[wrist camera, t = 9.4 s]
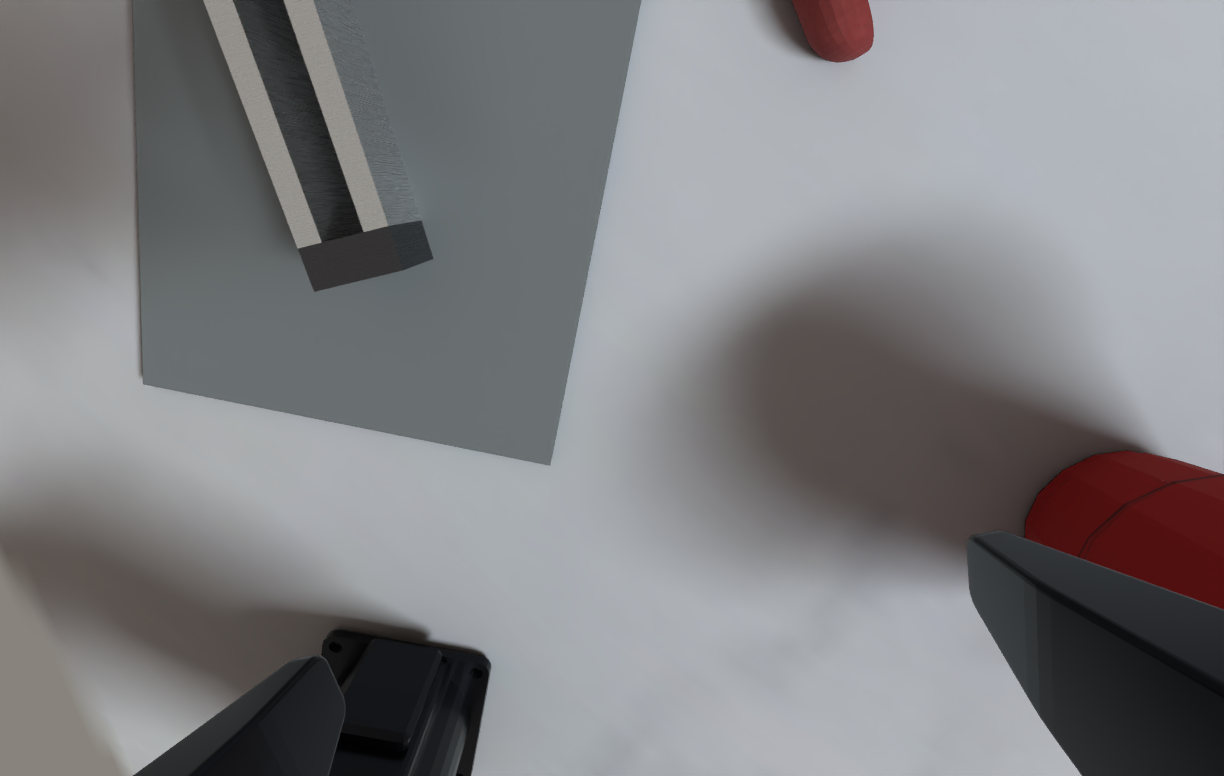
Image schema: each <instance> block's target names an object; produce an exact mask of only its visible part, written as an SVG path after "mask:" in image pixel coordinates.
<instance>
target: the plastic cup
mask: <svg viewBox="0 0 1224 776" xmlns="http://www.w3.org/2000/svg"><path fill="white" fill-rule="evenodd" d="M1025 539H1028V540H1031V541H1033V542H1036V543H1039V544H1042V545H1044V546H1047V547H1050V548H1053V549H1056V550H1058V551H1061V552H1064V553H1067V554H1070V555H1072V556H1075V557H1078V558H1081V559H1084V560H1086V561H1089V562H1092V563H1095V564H1098V565H1100V566H1103V567H1106V568H1109V569H1112V570H1114V571H1117V572H1120V573H1123V574H1126V575H1128V576H1131V577H1134V578H1137V579H1140V580H1142V581H1145V582H1148V583H1151V584H1153V585H1156V586H1159V587H1162V588H1165V589H1167V590H1170V591H1173V592H1176V593H1179V594H1181V595H1184V596H1187V597H1190V598H1193V599H1195V600H1198V601H1201V602H1204V603H1207V604H1209V605H1212V606H1215V607H1218V608H1221V609H1223V610H1224V474H1221V473H1218V472H1214V471H1211V470H1208V469H1205V468H1202V467H1198V466H1195V465H1192V464H1189V463H1186V462H1182V461H1179V460H1175V459H1171V458H1166V457H1162V456H1157V455H1153V454H1148V453H1137V452H1133V451H1128V450H1126V451H1119V452H1112V453H1105V454H1098V455H1093V456H1091V457H1089V458H1087V459H1085V460H1083V461H1081V462H1079V463H1077V464H1075V465H1073V466H1071V467H1069V468H1067V469H1065V470H1063V471H1062V472H1061V473H1060V474H1058V475H1057V476H1056V477H1055V478H1054V479H1053V480H1052V481H1051V482H1050V483H1049V484H1048V485H1047V486H1046V487H1045V488H1044V489H1043V490H1042V491H1041V492H1040V493H1039V494H1038V496H1037V498H1036V500H1035V502H1034V504H1033V506H1032V508H1031V510H1030V512H1029V514H1028V516H1027V518H1026V521H1025Z"/></svg>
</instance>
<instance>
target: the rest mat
mask: <svg viewBox="0 0 1224 776" xmlns="http://www.w3.org/2000/svg"><path fill="white" fill-rule="evenodd" d="M283 3H284V0H283ZM352 3H353V6H354V9H355V12H356V15H357V18H358V22H359V25H360V28H361V31H362V34H363V37H364V41H365V44H366V47H367V50H368V53H369V56H370V60H371V63H372V66H373V69H374V72H375V75H376V78H377V82H378V85H379V88H380V91H381V94H382V97H383V101H384V104H385V107H386V110H387V113H388V116H389V120H390V123H391V126H392V129H393V132H394V135H395V138H396V142H397V145H398V148H399V151H400V154H401V157H402V161H403V164H404V167H405V170H406V173H407V176H408V179H409V183H410V186H411V189H412V192H413V195H414V198H415V202H416V205H417V208H418V211H419V214H420V217H421V221H422V224H423V227H424V230H425V233H426V236H427V239H428V243H429V246H430V249H431V252H432V255H433V258H434V259H432V260H429V261H427V262H424V263H421V264H419V265H416V266H413V267H411V268H408V269H406V270H403V271H399V272H395V273H390V274H386V275H382V276H378V277H374V278H370V279H366V280H362V281H357V282H353V283H349V284H345V285H341V286H337V287H333V288H328V289H324V290H320V291H316V292H314V290H313V288H312V285H311V282H310V280H309V277H308V275H307V272H306V269H305V267H304V264H303V261H302V259H301V256H300V254H299V251H298V248H297V246H296V243H295V240H294V238H293V235H292V232H291V230H290V227H289V225H288V222H287V219H286V217H285V214H284V211H283V209H282V206H281V204H280V201H279V198H278V196H277V193H276V190H275V188H274V185H273V182H272V180H271V177H270V175H269V172H268V169H267V167H266V164H265V161H264V159H263V156H262V154H261V151H260V148H259V146H258V143H257V140H256V138H255V135H254V132H253V130H252V127H251V125H250V122H249V119H248V117H247V114H246V111H245V109H244V106H243V104H242V101H241V98H240V96H239V93H238V90H237V88H236V85H235V82H234V80H233V77H232V75H231V72H230V69H229V67H228V64H227V61H226V59H225V56H224V54H223V51H222V48H221V46H220V43H219V40H218V38H217V35H216V32H215V30H214V27H213V25H212V22H211V19H210V17H209V14H208V11H207V9H206V6H205V4H204V1H203V0H132V5H133V41H134V77H135V113H136V149H137V185H138V221H139V257H140V293H141V329H142V365H143V384H145V385H150V386H155V387H160V388H165V389H170V390H175V391H180V392H185V393H190V394H195V395H200V396H205V397H210V398H215V399H220V400H225V401H230V402H235V403H240V404H245V405H250V406H255V407H260V408H265V409H270V410H275V411H280V412H285V413H290V414H295V415H300V416H305V417H310V418H315V419H320V420H325V421H330V422H335V423H340V424H345V425H350V426H355V427H360V428H365V429H370V430H375V431H380V432H385V433H390V434H395V435H400V436H405V437H410V438H415V439H420V440H425V441H430V442H435V443H440V444H445V445H450V446H455V447H460V448H465V449H470V450H475V451H480V452H485V453H490V454H495V455H500V456H505V457H510V458H515V459H520V460H525V461H530V462H535V463H540V464H545V465H550V463H551V459H552V454H553V449H554V444H555V439H556V434H557V429H558V424H559V418H560V413H561V408H562V403H563V398H564V393H565V388H566V383H567V378H568V372H569V367H570V362H571V357H572V352H573V347H574V342H575V337H576V331H577V326H578V321H579V316H580V311H581V306H582V301H583V296H584V291H585V285H586V280H587V275H588V270H589V265H590V260H591V255H592V250H593V244H594V239H595V234H596V229H597V224H598V219H599V214H600V209H601V204H602V198H603V193H604V188H605V183H606V178H607V173H608V168H609V163H610V157H611V152H612V147H613V142H614V137H615V132H616V127H617V122H618V117H619V111H620V106H621V101H622V96H623V91H624V86H625V81H626V76H627V70H628V65H629V60H630V55H631V50H632V45H633V40H634V35H635V30H636V24H637V19H638V14H639V9H640V4H641V0H352ZM284 6H285V3H284ZM285 9H286V6H285ZM286 12H287V9H286ZM287 15H288V12H287ZM288 18H289V15H288ZM289 21H290V23H291V20H290V18H289ZM291 26H292V23H291ZM292 29H293V26H292ZM293 32H294V29H293ZM294 35H295V32H294ZM295 38H296V35H295ZM296 41H297V38H296ZM297 44H298V41H297ZM298 46H299V44H298ZM299 49H300V46H299ZM300 52H301V49H300ZM301 55H302V52H301ZM302 58H303V55H302ZM303 61H304V58H303ZM304 64H305V61H304ZM305 67H306V64H305ZM306 70H307V67H306ZM307 72H308V70H307ZM308 75H309V72H308ZM309 78H310V75H309ZM310 81H311V78H310ZM311 84H312V81H311ZM312 87H313V84H312ZM313 90H314V87H313ZM314 93H315V90H314ZM315 96H316V93H315ZM316 98H317V96H316ZM317 101H318V98H317ZM318 104H319V101H318ZM319 107H320V104H319ZM320 110H321V107H320ZM321 113H322V110H321ZM322 116H323V113H322ZM323 119H324V116H323ZM324 122H325V119H324ZM325 124H326V122H325ZM326 127H327V124H326ZM327 130H328V127H327ZM328 133H329V130H328ZM329 136H330V133H329ZM330 139H331V136H330ZM331 142H332V139H331ZM332 145H333V142H332ZM333 148H334V145H333ZM334 150H335V148H334ZM335 153H336V151H335ZM336 156H337V153H336ZM337 159H338V156H337ZM338 162H339V159H338ZM339 165H340V162H339ZM340 168H341V165H340ZM341 171H342V168H341ZM342 174H343V171H342ZM343 176H344V174H343ZM344 179H345V177H344ZM345 182H346V179H345ZM346 185H347V182H346ZM347 188H348V185H347ZM348 191H349V188H348ZM349 194H350V191H349ZM350 197H351V194H350ZM351 200H352V197H351ZM352 202H353V200H352ZM353 205H354V203H353ZM354 208H355V205H354ZM355 211H356V208H355ZM356 214H357V211H356ZM357 217H358V214H357ZM358 220H359V217H358ZM359 223H360V220H359ZM360 226H361V223H360ZM361 228H362V226H361ZM362 231H363V229H362ZM363 232H364V231H363Z"/></svg>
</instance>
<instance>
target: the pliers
mask: <svg viewBox="0 0 1224 776" xmlns="http://www.w3.org/2000/svg"><path fill="white" fill-rule="evenodd" d="M792 3H793V5H794V8H795V10H796V13H797V15H798V18H799V20H800V23H801V26H802V28H803V31H804V33H805V36H806V39H807V41H808V43H809V44H810V46H811V47H812V49H813V50H814V51H815V52H816V53H817V54H818V55H819V56H821V57H822V58H824V59H826V60H828V61H832V62H846V61H850V60H854V59H856V58H858V57H859V56H861V55H863V54H864V53H866V52H867V51H869V50H870V48H871V47H872V44H873V37H874V32H873V21H872V15H871V11H870V7H869V3H868V0H792Z"/></svg>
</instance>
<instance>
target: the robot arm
mask: <svg viewBox="0 0 1224 776" xmlns="http://www.w3.org/2000/svg"><path fill="white" fill-rule="evenodd" d="M967 562H968V577H969V589H970V594H971V598H972V601H973V603H974V605H975V607H976V609H977V611H978V613H979V615H980V616H981V618H982V620H983V621H984V623H985V625H986V626H987V628H988V630H989V632H990V633H991V635H992V637H993V638H994V640H995V642H996V644H997V645H998V647H999V649H1000V650H1001V652H1002V654H1003V656H1004V657H1005V659H1006V661H1007V662H1008V664H1009V666H1010V668H1011V669H1012V671H1013V673H1014V674H1015V676H1016V678H1017V680H1018V681H1019V683H1020V685H1021V686H1022V688H1023V690H1024V692H1025V693H1026V695H1027V697H1028V698H1029V700H1030V702H1031V703H1032V705H1033V706H1034V708H1035V710H1036V711H1037V713H1038V715H1039V716H1040V718H1041V719H1042V721H1043V722H1044V723H1045V725H1046V726H1047V728H1048V729H1049V731H1050V732H1051V734H1052V735H1053V736H1054V738H1055V739H1056V741H1057V742H1058V743H1059V745H1060V746H1061V747H1062V749H1063V750H1064V752H1065V753H1066V754H1067V756H1068V757H1069V758H1070V760H1071V761H1072V763H1073V764H1074V765H1075V767H1076V768H1077V769H1078V771H1079V772H1080V774H1081V775H1082V776H1224V610H1223V609H1221V608H1218V607H1215V606H1212V605H1209V604H1207V603H1204V602H1201V601H1198V600H1195V599H1193V598H1190V597H1187V596H1184V595H1181V594H1179V593H1176V592H1173V591H1170V590H1167V589H1165V588H1162V587H1159V586H1156V585H1153V584H1151V583H1148V582H1145V581H1142V580H1140V579H1137V578H1134V577H1131V576H1128V575H1126V574H1123V573H1120V572H1117V571H1114V570H1112V569H1109V568H1106V567H1103V566H1100V565H1098V564H1095V563H1092V562H1089V561H1086V560H1084V559H1081V558H1078V557H1075V556H1072V555H1070V554H1067V553H1064V552H1061V551H1058V550H1056V549H1053V548H1050V547H1047V546H1044V545H1042V544H1039V543H1036V542H1033V541H1031V540H1028V539H1025V538H1022V537H1019V536H1017V535H1014V534H1011V533H1008V532H1005V531H993V532H987V533H982V534H977V535H972V536H971V537H970V538H969V539H968V541H967ZM335 642H337V643H339V644H340V645H337V644H336V643H335ZM474 668H478V669H481V670H482V671H477V670H475V669H474ZM490 672H491V663H490V662H489V660H488V659H487V658H485V657H483V656H480V655H474V654H469V653H463V652H458V651H453V650H447V649H442V648H436V647H431V646H426V645H420V644H415V643H410V642H404V641H399V640H393V639H388V638H383V637H377V636H372V635H367V634H361V633H356V632H350V631H345V630H333V631H331V632H330V633H329V634H328V635H327V637H326V638H325V640H324V642H323V645H322V656H319V655H314V656H309V657H303V658H298V659H294V660H291V661H290V662H288V663H287V664H285V665H284V666H283V667H281V668H280V669H279V670H277V671H276V672H274V673H273V674H272V675H270V676H269V677H268V678H266V679H265V680H263V681H262V682H261V683H259V684H258V685H257V686H255V687H254V688H253V689H251V690H250V691H248V692H247V693H246V694H244V695H243V696H242V697H240V698H239V699H237V700H236V701H235V702H233V703H232V704H231V705H229V706H228V707H226V708H225V709H224V710H222V711H221V712H220V713H218V714H217V715H216V716H214V717H213V718H211V719H210V720H209V721H207V722H206V723H205V724H203V725H202V726H200V727H199V728H198V729H196V730H195V731H194V732H192V733H191V734H190V735H188V736H187V737H185V738H184V739H183V740H181V741H180V742H179V743H177V744H176V745H174V746H173V747H172V748H170V749H169V750H168V751H166V752H165V753H164V754H162V755H161V756H159V757H158V758H157V759H155V760H154V761H153V762H151V763H150V764H148V765H147V766H146V767H144V768H143V769H142V770H140V771H139V772H138V773H136V774H135V775H133V776H471V774H472V770H473V765H474V759H475V754H476V748H477V743H478V737H479V732H480V726H481V721H482V715H483V710H484V705H485V699H486V694H487V688H488V683H489V677H490ZM459 773H460V774H459Z"/></svg>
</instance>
